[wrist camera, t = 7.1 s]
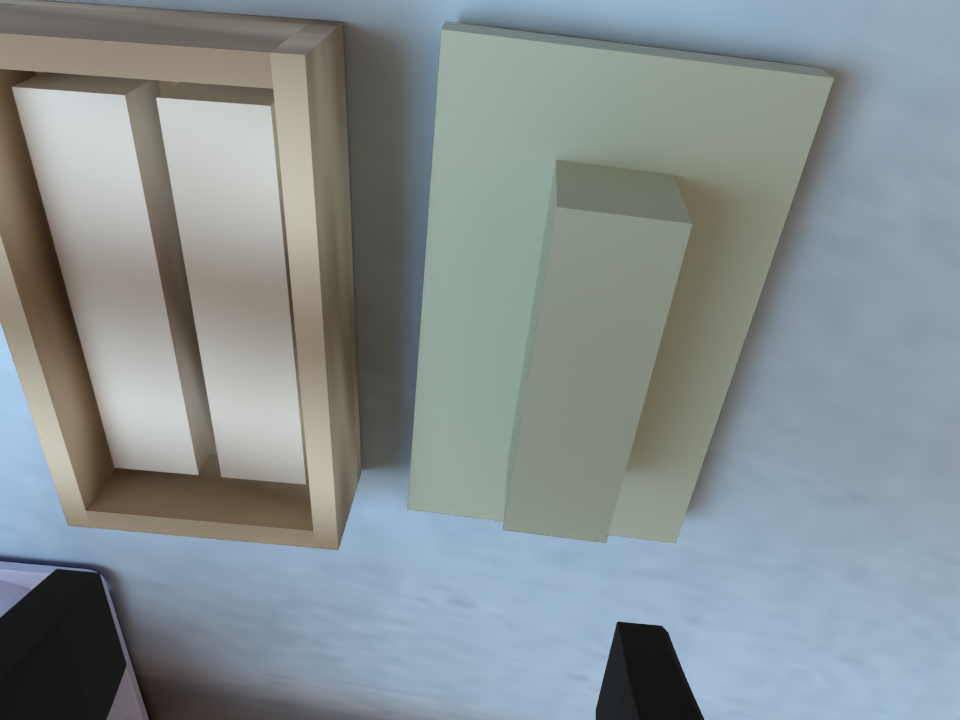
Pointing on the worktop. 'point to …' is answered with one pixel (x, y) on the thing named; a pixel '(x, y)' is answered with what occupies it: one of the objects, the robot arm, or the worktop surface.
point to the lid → (593, 272)
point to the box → (182, 267)
